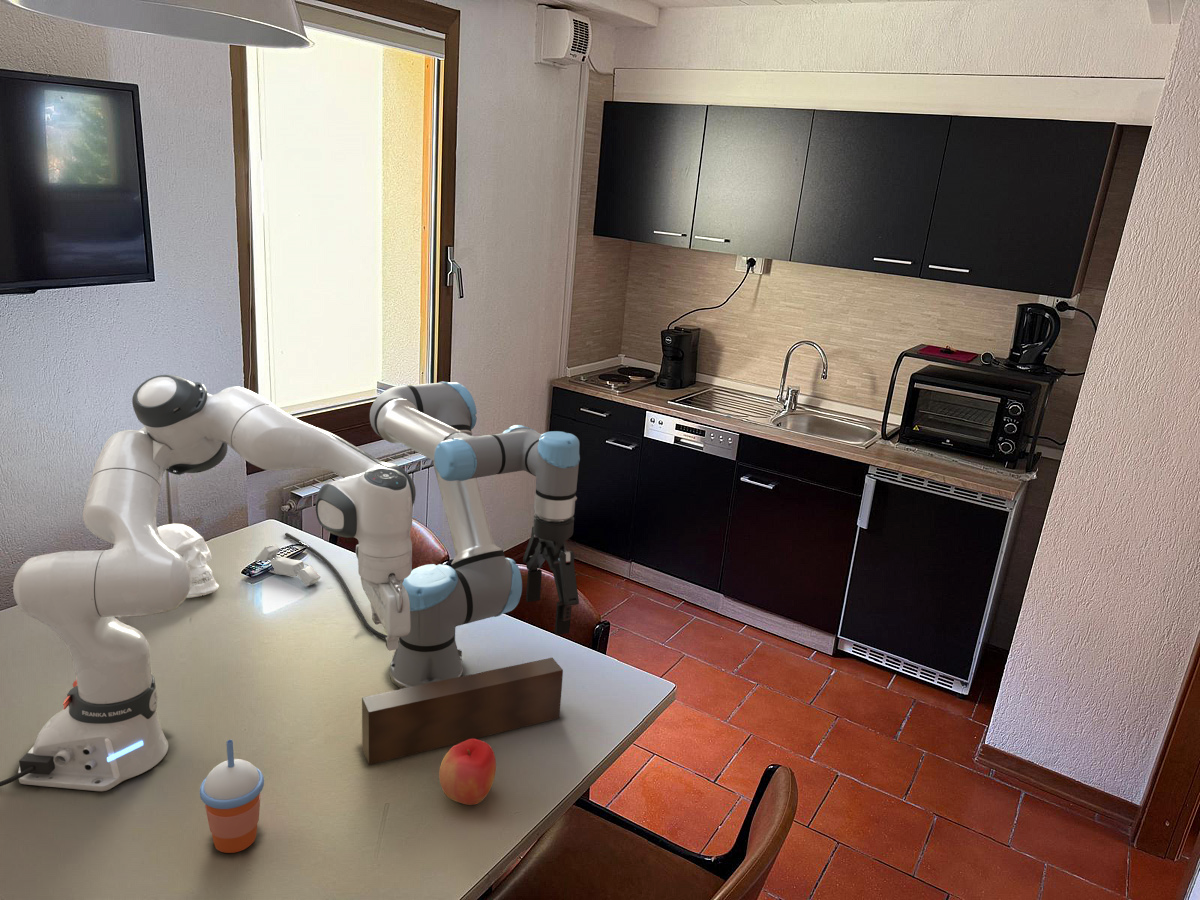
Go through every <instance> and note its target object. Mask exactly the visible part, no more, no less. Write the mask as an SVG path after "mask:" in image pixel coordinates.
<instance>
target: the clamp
mask: <svg viewBox="0 0 1200 900" xmlns="http://www.w3.org/2000/svg"><path fill="white" fill-rule="evenodd" d="M280 549H281V547H279V546H278V545H277V544H272V545H266V546H264V547H263V549H262V550H261V551H260V552H259V554H258V555H257V556H256V557H255V559H254V562H255V563H256V561H259V560H262V561H268V560H271V562H270V563H269V564H271V565H272V566H273V568H274V571H275V572H274V571H271V570H270V571H268V570H267V571H268V573H271V574H275V575H278V576H281V575H283V576H288V577H292V578H296V577H298V578H299V579H300V580H301V582H303V584H304V585H305V587H309V586H312V585H314V584H316V583H318V582H319V580H320V579H321V578H322V577H321V575H320V574H319V573H318V572H317V570H315V569H314V568H313V566H312V565H310V564H309V565H308V564H307V563H305V562H304V561H303V560H301V559H300V560H299V559H292V558H289V557H285V556H278V553H279V551H280ZM273 558H274V559H273ZM272 559H273V560H272ZM305 566H306V567H305Z"/></svg>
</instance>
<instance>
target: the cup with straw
mask: <svg viewBox="0 0 1200 900" xmlns="http://www.w3.org/2000/svg"><path fill="white" fill-rule="evenodd" d="M226 757H227V760H225V761H222V762H220V763H218V764H217V765H215V766H214V767H213V768H212V769H211V770H210V771H209V773H208V774H207V776H206V777H204V779H203V781H202V782H201V784H200V786H199V787H200V788H199V797H200V800H201V801H202V802H203V804H204V807H205V812H206V813H205V814H206V818H207V823H208V828H209V831H210V833H211V836H212V841H213V845H214V847H215V849H216V850H217V851H219V852H221V853H225V854H235V853H239V852H242V851H244V850H246V849H247V848H249V847H250V846H251V845H252V844H253V843H254V842H255V841H256V838H257V834H258V823H259V819H260V809H261V792H262V791H263V789H264V786H265V777H264V775H263V772H262V771H261V770H260V769H259V768H258V767H256V766H255V765H254V764H253V763H252V762H250V761H248V760H245V759H243V758H242V759H241V758H235V755H234V741H233V739H228V740H226Z"/></svg>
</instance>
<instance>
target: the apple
mask: <svg viewBox="0 0 1200 900" xmlns="http://www.w3.org/2000/svg"><path fill="white" fill-rule="evenodd" d="M496 771H497V761H496V756H495V752H494V750H493V748H492V746H491V745H490V744H489V743H487V742H486V741H483V740H480V739H479V738H476V739H468V740H466V741H463V742H460V743H456V744H453V746H451V748H449V749H448V751H447V752H446V753H445V755H444V756H443V758H442V760H441V763H440V766H439V773H438V777H439V784H440V787H441V789H442V791H443V793H444V794H445V796H447V797H448V799H450V800H453V801H454V802H456V803H460V804H463V805H468V806H472V805H473V806H474V805H478V804H479V803H481V802H483V800H485V798H486V797H487V796H488V794H489V793H490V791H491V788H492V787H493V784H494V782H495V777H496V773H497V772H496Z"/></svg>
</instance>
